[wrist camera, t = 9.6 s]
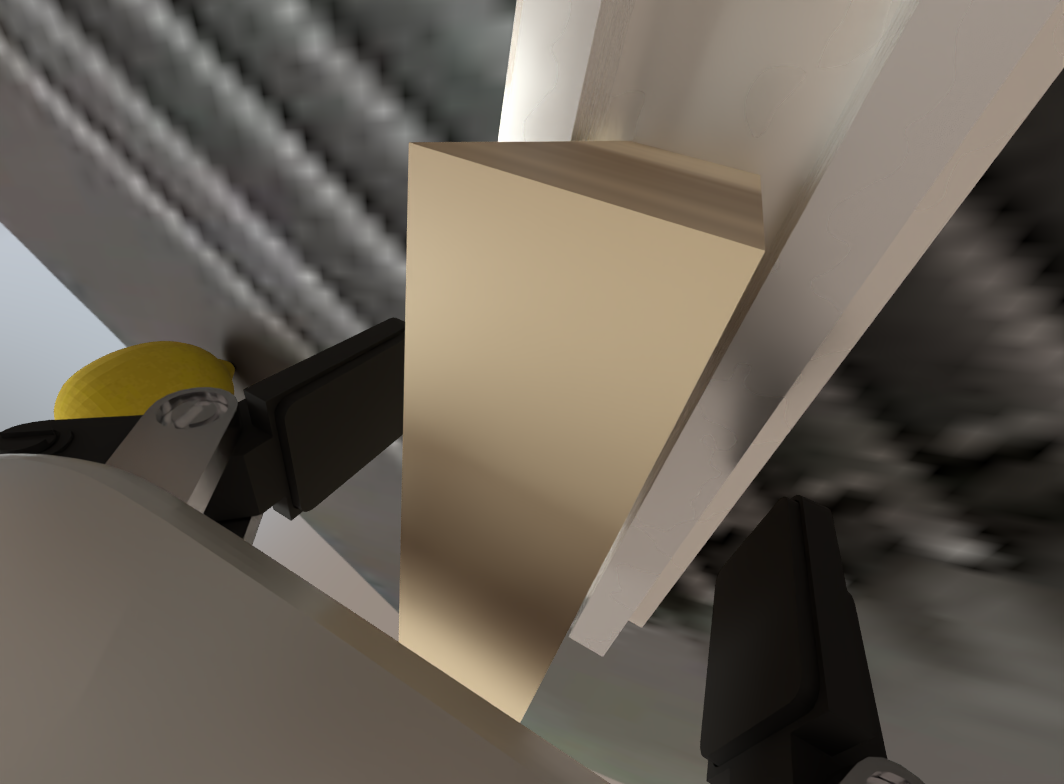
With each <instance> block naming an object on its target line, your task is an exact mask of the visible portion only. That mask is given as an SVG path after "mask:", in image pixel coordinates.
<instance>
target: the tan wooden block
mask: <svg viewBox="0 0 1064 784" xmlns="http://www.w3.org/2000/svg"><path fill="white" fill-rule="evenodd" d="M764 253H765V238H764V223H763V208H762V193H761V178H760V175H758V174H754V173H751V172H747V171H743V170H739V169H735V168H732V167H728V166H724V165H720V164H716V163H712V162H709V161H705V160H701V159H697V158H693V157H690V156H686V155H682V154H678V153H674V152H671V151H667V150H663V149H659V148H655V147H651V146H648V145H644V144H640V143H636V142H632V141H541V142H412V143H409V167H408V216H407V265H406V313H405V362H404V411H403V460H402V508H401V557H400V606H399V643H401V644H402V645H404V646H405V647H407V648H408V649H410V650H411V651H413V652H414V653H416V654H417V655H419V656H420V657H422V658H423V659H425V660H426V661H428V662H429V663H431V664H432V665H434V666H435V667H437V668H438V669H440V670H441V671H443V672H444V673H446V674H447V675H449V676H450V677H452V678H453V679H455V680H456V681H458V682H459V683H461V684H462V685H464V686H465V687H467V688H468V689H470V690H471V691H473V692H474V693H476V694H477V695H479V696H480V697H482V698H483V699H485V700H486V701H488V702H489V703H491V704H492V705H494V706H495V707H497V708H498V709H500V710H501V711H503V712H504V713H506V714H507V715H509V716H510V717H512V718H513V719H515V720H516V721H518V722H519V723H520V722H521V720H522V718H523V716H524V714H525V712H526V710H527V708H528V706H529V705H530V703H531V701H532V699H533V697H534V695H535V693H536V691H537V689H538V687H539V685H540V683H541V681H542V680H543V678H544V676H545V674H546V672H547V670H548V668H549V666H550V664H551V662H552V660H553V658H554V656H555V655H556V653H557V651H558V649H559V647H560V645H561V643H562V641H563V639H564V637H565V635H566V633H567V631H568V630H569V628H570V626H571V624H572V622H573V620H574V618H575V616H576V614H577V612H578V610H579V608H580V606H581V605H582V603H583V601H584V599H585V597H586V595H587V593H588V591H589V589H590V587H591V585H592V583H593V581H594V580H595V578H596V576H597V574H598V572H599V570H600V568H601V566H602V564H603V562H604V560H605V558H606V556H607V555H608V553H609V551H610V549H611V547H612V545H613V543H614V541H615V539H616V537H617V535H618V533H619V531H620V529H621V528H622V526H623V524H624V522H625V520H626V518H627V516H628V514H629V512H630V510H631V508H632V506H633V504H634V503H635V501H636V499H637V497H638V495H639V493H640V491H641V489H642V487H643V485H644V483H645V481H646V479H647V478H648V476H649V474H650V472H651V470H652V468H653V466H654V464H655V462H656V460H657V458H658V456H659V454H660V453H661V451H662V449H663V447H664V445H665V443H666V441H667V439H668V437H669V435H670V433H671V431H672V429H673V428H674V426H675V424H676V422H677V420H678V418H679V416H680V414H681V412H682V410H683V408H684V406H685V404H686V403H687V401H688V399H689V397H690V395H691V393H692V391H693V389H694V387H695V385H696V383H697V381H698V379H699V378H700V376H701V374H702V372H703V370H704V368H705V366H706V364H707V362H708V360H709V358H710V356H711V354H712V353H713V351H714V349H715V347H716V345H717V343H718V341H719V339H720V337H721V335H722V333H723V331H724V329H725V328H726V326H727V324H728V322H729V320H730V318H731V316H732V314H733V312H734V310H735V308H736V306H737V304H738V303H739V301H740V299H741V297H742V295H743V293H744V291H745V289H746V287H747V285H748V283H749V281H750V279H751V278H752V276H753V274H754V272H755V270H756V268H757V266H758V264H759V262H760V260H761V258H762V256H763V254H764Z"/></svg>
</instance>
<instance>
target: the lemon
mask: <svg viewBox="0 0 1064 784" xmlns="http://www.w3.org/2000/svg"><path fill="white" fill-rule="evenodd" d="M234 372H235V368H234V366H233V365H232V364H231V363H230V362H228V361H225V360H221V359H217V358H216V357H215V356H214V355H212V354H211V353H209V352H207V351H206V350H204V349H202V348H200V347H197V346H194V345H190V344H186V343H181V342H173V341H157V342H149V343H143V344H139V345H134V346H131V347H127V348H124V349H121V350H118V351H115V352H112V353H110V354H107V355H105V356H103V357H101V358H99V359H97V360H95V361H93V362H92V363H90V364H88V365H87V366H85V367H83V368H82V369H80V370H79V371H77V372H76V373H75V374H74V375H73V376H71V377H70V378H69V379H68V380H67V381H66V383H65V384H64V385H63V386H62V388H61V390H60V392H59V394H58V396H57V399H56V402H55V407H54V417H55V420H60V419H78V418H96V417H114V416H133V415H144V413H145V412H146V411H147V409H148V408H149V407H150V406H151V405H153V404H154V403H155V402H156V401H157V400H159V399H161V398H163V397H164V396H166V395H168V394H171V393H174V392H177V391H180V390H184V389H189V388H195V387H213V388H220V389H223V390H226V391H228V392H230V393H231V394H233V395H234V386H233V382H232V378H233V375H234Z"/></svg>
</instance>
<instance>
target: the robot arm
mask: <svg viewBox="0 0 1064 784" xmlns="http://www.w3.org/2000/svg"><path fill="white" fill-rule="evenodd" d="M404 362H405V322H404V321H402V320H400V319H397V318H390V319H388V320H386V321H384V322H382V323H380V324H378V325H376V326H373V327H371V328H369V329H367V330H365V331H363V332H361V333H359V334H357V335H355V336H353V337H351V338H349V339H347V340H345V341H343V342H341V343H338V344H336V345H334V346H332V347H330V348H328V349H326V350H324V351H322V352H320V353H318V354H316V355H314V356H312V357H310V358H308V359H306V360H303V361H301V362H299V363H297V364H295V365H293V366H291V367H289V368H287V369H285V370H283V371H281V372H279V373H277V374H275V375H273V376H271V377H268V378H266V379H264V380H262V381H260V382H258V383H256V384H254V385H252V386H250V387H248V388H246V389H244V394H245V398H246V399H244V400H242V401H240V402H237V400H236V397H235V396H234V395H233V394H231V393H230V392H228V391H226V390H223V389H220V388H213V387H195V388H189V389H184V390H180V391H177V392H174V393H171V394H168V395H166V396H164V397H163V398H161V399H159V400H157V401H156V402H155V403H154V404H153V405H151V406H150V407H149V408H148V409H147V411H146V412H145V413H144V415H133V416H114V417H96V418H78V419H60V420H46V421H38V422H31V423H26V424H21V425H17V426H14V427H11V428H9V429H6V430H4V431H2V432H0V784H610V783H608V782H607V781H605V780H604V779H602V778H601V777H600V776H598V775H597V774H595V773H594V772H592V771H591V770H589V769H588V768H586V767H585V766H583V765H582V764H580V763H579V762H577V761H576V760H574V759H573V758H571V757H570V756H568V755H567V754H565V753H564V752H562V751H561V750H559V749H558V748H556V747H555V746H553V745H552V744H550V743H549V742H547V741H546V740H544V739H543V738H541V737H540V736H538V735H537V734H535V733H534V732H532V731H531V730H530V729H528V728H527V727H525V726H524V725H522V724H521V723H519V722H518V721H516V720H515V719H513V718H512V717H510V716H509V715H507V714H506V713H504V712H503V711H501V710H500V709H498V708H497V707H495V706H494V705H492V704H491V703H489V702H488V701H486V700H485V699H483V698H482V697H480V696H479V695H477V694H476V693H474V692H473V691H471V690H470V689H468V688H467V687H465V686H464V685H462V684H461V683H459V682H458V681H456V680H455V679H453V678H452V677H450V676H449V675H447V674H446V673H444V672H443V671H441V670H440V669H438V668H437V667H435V666H434V665H432V664H431V663H429V662H428V661H426V660H425V659H423V658H422V657H420V656H419V655H417V654H416V653H414V652H413V651H411V650H410V649H408V648H407V647H405V646H404V645H402V644H401V643H399V642H398V641H396V640H395V639H393V638H392V637H390V636H389V635H387V634H386V633H384V632H383V631H381V630H379V629H378V628H377V627H375V626H374V625H372V624H370V623H369V622H368V621H366V620H365V619H363V618H361V617H360V616H358V615H357V614H356V613H354V612H353V611H351V610H350V609H348V608H347V607H345V606H343V605H342V604H340V603H339V602H337V601H336V600H334V599H333V598H331V597H330V596H328V595H327V594H325V593H324V592H322V591H321V590H319V589H318V588H316V587H315V586H313V585H312V584H310V583H309V582H307V581H306V580H304V579H303V578H301V577H299V576H298V575H296V574H295V573H293V572H292V571H290V570H289V569H287V568H286V567H284V566H283V565H281V564H280V563H278V562H277V561H275V560H274V559H272V558H271V557H269V556H268V555H266V554H264V553H263V552H261V551H260V550H258V549H257V548H255V547H254V546H252V544H253V541H254V539H255V536H256V533H257V530H258V527H259V524H260V521H261V519H262V516H263V513H264V512H265V511H267V510H268V509H269V508H271V507H272V506H273V509H274V510H275V511H277V512H278V513H280V514H282V515H283V516H285V517H286V518H288V519H289V520H293V519H294V518H295V517H296V516H298V515H299V514H300V513H301V512H303V511H304V512H307V511H310V510H312V509H313V508H315V507H316V506H317V505H318V504H319V503H321V502H322V501H323V500H324V499H326V498H327V497H328V496H329V495H330V494H332V493H333V492H334V491H335V490H336V489H338V488H339V487H340V486H341V485H342V484H344V483H345V482H346V481H347V480H348V479H350V478H351V477H352V476H353V475H354V474H356V473H357V472H358V471H359V470H360V469H362V468H363V467H364V466H365V465H366V464H368V463H369V462H370V461H371V460H373V459H374V458H375V457H376V456H377V455H379V454H380V453H381V452H382V451H383V450H385V449H386V448H387V447H388V446H389V445H391V444H392V443H393V442H394V441H395V440H397V439H398V438H399V437H400V436H401V435H403V411H404ZM700 750H701V754H702V756H703V757H704V758H706V759H708V769H707V782H709V783H710V784H925V783H924V782H923V781H921V780H920V779H919V778H918V777H917V776H915V775H914V774H913V773H911V772H910V771H908V770H907V769H906V768H904V767H903V766H901V765H900V764H897V763H895V762H893V761H890V760H888V759H887V755H886V751H885V746H884V741H883V736H882V731H881V727H880V722H879V717H878V712H877V708H876V703H875V698H874V693H873V688H872V684H871V679H870V674H869V669H868V664H867V660H866V655H865V650H864V645H863V640H862V636H861V631H860V626H859V621H858V617H857V612H856V607H855V603H854V600H853V598H852V596H851V594H850V593H849V592H848V591H847V588H846V582H845V577H844V572H843V567H842V562H841V557H840V552H839V547H838V542H837V537H836V532H835V527H834V522H833V517H832V513H831V510H830V509H829V508H827V507H825V506H823V505H820V504H818V503H816V502H814V501H811V500H809V499H807V498H805V497H802V496H800V495H796V496H794V497H793V498H791V499H789V498H787V497H783V498H781V499H780V500H779V501H778V502H777V503H776V504H775V506H774V507H773V508H772V509H771V510H770V511H769V513H768V514H767V515H766V516H765V517H764V519H763V520H762V521H761V522H760V523H759V525H758V526H757V527H756V528H755V529H754V530H753V532H752V533H751V534H750V535H749V536H748V538H747V539H746V540H745V541H744V542H743V544H742V545H741V546H740V547H739V548H738V549H737V551H736V552H735V553H734V554H733V555H732V557H731V558H730V559H729V560H728V561H727V563H726V564H725V565H724V566H723V567H722V569H721V570H720V572H719V574H718V577H717V580H716V585H715V594H714V605H713V615H712V626H711V636H710V647H709V657H708V668H707V678H706V689H705V699H704V710H703V720H702V731H701V741H700Z"/></svg>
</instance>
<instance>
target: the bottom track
mask: <svg viewBox="0 0 1064 784" xmlns="http://www.w3.org/2000/svg"><path fill="white" fill-rule="evenodd" d="M1063 68H1064V0H517V4H516V11H515V19H514V26H513V34H512V41H511V48H510V56H509V63H508V71H507V78H506V86H505V93H504V101H503V108H502V116H501V123H500V131H499V138H498V142H541V141H632V142H636V143H640V144H644V145H648V146H651V147H655V148H659V149H663V150H667V151H671V152H674V153H678V154H682V155H686V156H690V157H693V158H697V159H701V160H705V161H709V162H712V163H716V164H720V165H724V166H728V167H732V168H735V169H739V170H743V171H747V172H751V173H754V174H758V175H760V178H761V193H762V208H763V223H764V238H765V253H764V254H763V256H762V258H761V260H760V262H759V264H758V266H757V268H756V270H755V272H754V274H753V276H752V278H751V279H750V281H749V283H748V285H747V287H746V289H745V291H744V293H743V295H742V297H741V299H740V301H739V303H738V304H737V306H736V308H735V310H734V312H733V314H732V316H731V318H730V320H729V322H728V324H727V326H726V328H725V329H724V331H723V333H722V335H721V337H720V339H719V341H718V343H717V345H716V347H715V349H714V351H713V353H712V354H711V356H710V358H709V360H708V362H707V364H706V366H705V368H704V370H703V372H702V374H701V376H700V378H699V379H698V381H697V383H696V385H695V387H694V389H693V391H692V393H691V395H690V397H689V399H688V401H687V403H686V404H685V406H684V408H683V410H682V412H681V414H680V416H679V418H678V420H677V422H676V424H675V426H674V428H673V429H672V431H671V433H670V435H669V437H668V439H667V441H666V443H665V445H664V447H663V449H662V451H661V453H660V454H659V456H658V458H657V460H656V462H655V464H654V466H653V468H652V470H651V472H650V474H649V476H648V478H647V479H646V481H645V483H644V485H643V487H642V489H641V491H640V493H639V495H638V497H637V499H636V501H635V503H634V504H633V506H632V508H631V510H630V512H629V514H628V516H627V518H626V520H625V522H624V524H623V526H622V528H621V529H620V531H619V533H618V535H617V537H616V539H615V541H614V543H613V545H612V547H611V549H610V551H609V553H608V555H607V556H606V558H605V560H604V562H603V564H602V566H601V568H600V570H599V572H598V574H597V576H596V578H595V580H594V581H593V583H592V585H591V587H590V589H589V591H588V593H587V595H586V597H585V599H584V601H583V603H582V605H581V606H580V609H579V611H578V614H577V617H576V619H575V622H574V624H573V627H572V630H571V632H570V635H569V637H570V638H572V639H573V640H575V641H577V642H578V643H580V644H582V645H584V646H585V647H587V648H589V649H590V650H592V651H594V652H595V653H597V654H599V655H600V656H602V657H603V656H604V654H605V653H606V651H607V650H608V649H609V647H610V646H611V644H612V643H613V641H614V640H615V639H616V637H617V636H618V634H619V633H620V631H621V630H622V629H623V627H624V626H625V624H626V623H627V621H628V620H629V621H631V622H633V623H634V624H636V625H638V626H640V627H641V628H642V627H643V625H644V624H645V623H646V621H647V620H648V619H649V617H650V616H651V615H652V613H653V612H654V611H655V610H656V608H657V607H658V606H659V604H660V603H661V602H662V600H663V599H664V598H665V596H666V595H667V594H668V592H669V591H670V590H671V588H672V587H673V586H674V584H675V583H676V582H677V580H678V579H679V578H680V576H681V575H682V574H683V572H684V571H685V570H686V568H687V567H688V566H689V564H690V563H691V562H692V560H693V559H694V558H695V556H696V555H697V554H698V552H699V551H700V550H701V548H702V547H703V546H704V544H705V543H706V542H707V541H708V539H709V538H710V537H711V535H712V534H713V533H714V531H715V530H716V529H717V527H718V526H719V525H720V523H721V522H722V521H723V519H724V518H725V517H726V515H727V514H728V513H729V511H730V510H731V509H732V507H733V506H734V505H735V503H736V502H737V501H738V499H739V498H740V497H741V495H742V494H743V493H744V491H745V490H746V489H747V487H748V486H749V485H750V483H751V482H752V481H753V479H754V478H755V477H756V475H757V474H758V473H759V472H760V470H761V469H762V468H763V466H764V465H765V464H766V462H767V461H768V460H769V458H770V457H771V456H772V454H773V453H774V452H775V450H776V449H777V448H778V446H779V445H780V444H781V442H782V441H783V440H784V438H785V437H786V436H787V434H788V433H789V432H790V430H791V429H792V428H793V426H794V425H795V424H796V422H797V421H798V420H799V418H800V417H801V416H802V414H803V413H804V412H805V410H806V409H807V408H808V406H809V405H810V404H811V403H812V401H813V400H814V399H815V397H816V396H817V395H818V393H819V392H820V391H821V389H822V388H823V387H824V385H825V384H826V383H827V381H828V380H829V379H830V377H831V376H832V375H833V373H834V372H835V371H836V369H837V368H838V367H839V365H840V364H841V363H842V361H843V360H844V359H845V357H846V356H847V355H848V353H849V352H850V351H851V349H852V348H853V347H854V345H855V344H856V343H857V341H858V340H859V339H860V337H861V336H862V335H863V334H864V332H865V331H866V330H867V328H868V327H869V326H870V324H871V323H872V322H873V320H874V319H875V318H876V316H877V315H878V314H879V312H880V311H881V310H882V308H883V307H884V306H885V304H886V303H887V302H888V300H889V299H890V298H891V296H892V295H893V294H894V292H895V291H896V290H897V288H898V287H899V286H900V284H901V283H902V282H903V280H904V279H905V278H906V276H907V275H908V274H909V272H910V271H911V270H912V268H913V267H914V266H915V265H916V263H917V262H918V261H919V259H920V258H921V257H922V255H923V254H924V253H925V251H926V250H927V249H928V247H929V246H930V245H931V243H932V242H933V241H934V239H935V238H936V237H937V235H938V234H939V233H940V231H941V230H942V229H943V227H944V226H945V225H946V223H947V222H948V221H949V219H950V218H951V217H952V215H953V214H954V213H955V211H956V210H957V209H958V207H959V206H960V205H961V203H962V202H963V201H964V199H965V198H966V197H967V195H968V194H969V193H970V192H971V190H972V189H973V188H974V186H975V185H976V184H977V182H978V181H979V180H980V178H981V177H982V176H983V174H984V173H985V172H986V170H987V169H988V168H989V166H990V165H991V164H992V162H993V161H994V160H995V158H996V157H997V156H998V154H999V153H1000V152H1001V150H1002V149H1003V148H1004V146H1005V145H1006V144H1007V142H1008V141H1009V140H1010V138H1011V137H1012V136H1013V134H1014V133H1015V132H1016V130H1017V129H1018V128H1019V126H1020V125H1021V124H1022V123H1023V121H1024V120H1025V119H1026V117H1027V116H1028V115H1029V113H1030V112H1031V111H1032V109H1033V108H1034V107H1035V105H1036V104H1037V103H1038V101H1039V100H1040V99H1041V97H1042V96H1043V95H1044V93H1045V92H1046V91H1047V89H1048V88H1049V87H1050V85H1051V84H1052V83H1053V81H1054V80H1055V79H1056V77H1057V76H1058V75H1059V73H1060V72H1061V71H1062V69H1063Z"/></svg>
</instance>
